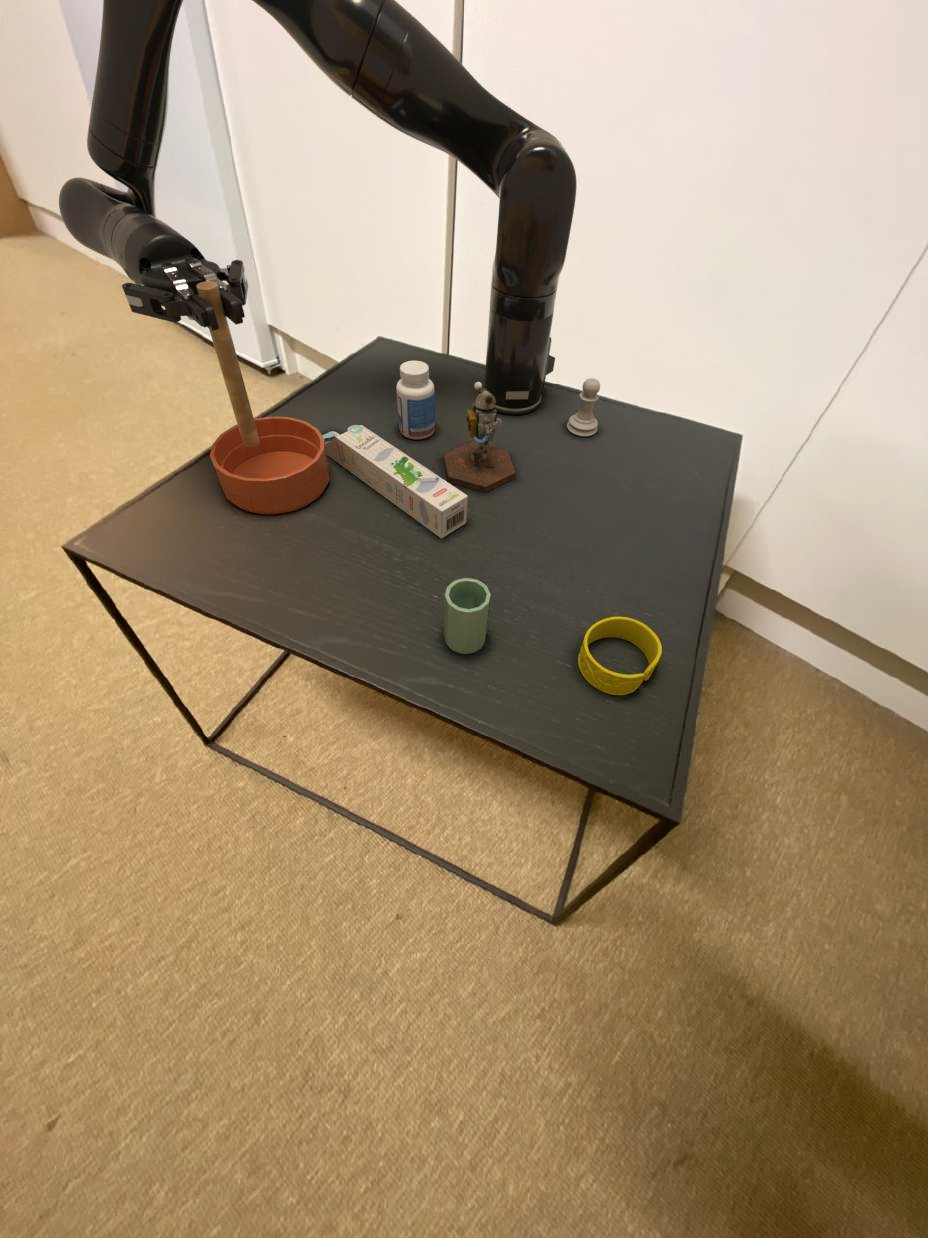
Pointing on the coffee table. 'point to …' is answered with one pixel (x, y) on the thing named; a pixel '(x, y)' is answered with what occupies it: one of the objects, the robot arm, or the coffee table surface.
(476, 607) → the holder
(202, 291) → the stick
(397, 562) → the coffee table surface
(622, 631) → the bracelet
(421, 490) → the box
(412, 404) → the pill bottle
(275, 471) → the bowl
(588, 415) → the chess piece
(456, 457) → the robot figurine
